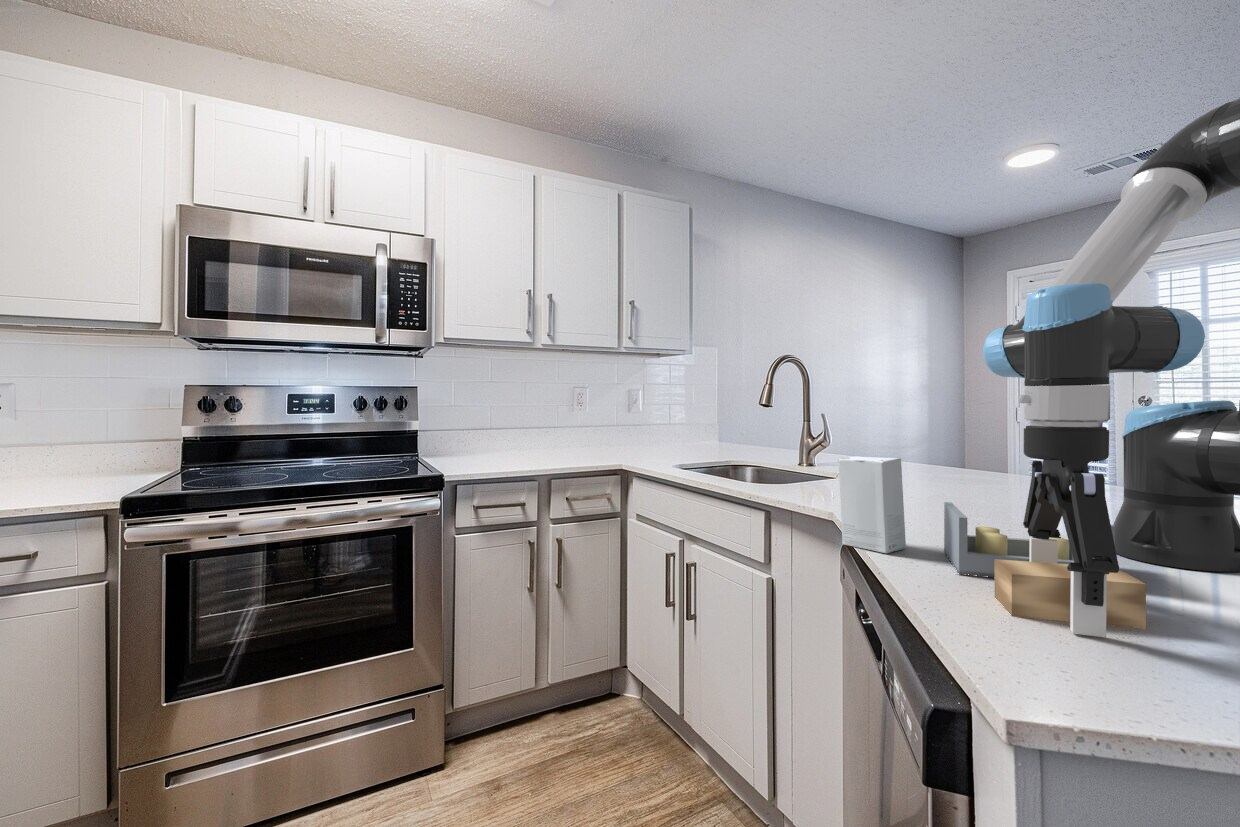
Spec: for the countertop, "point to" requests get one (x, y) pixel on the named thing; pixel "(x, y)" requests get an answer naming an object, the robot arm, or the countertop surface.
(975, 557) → the peg frame
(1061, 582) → the wooden block
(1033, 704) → the countertop surface
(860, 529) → the skincare box
